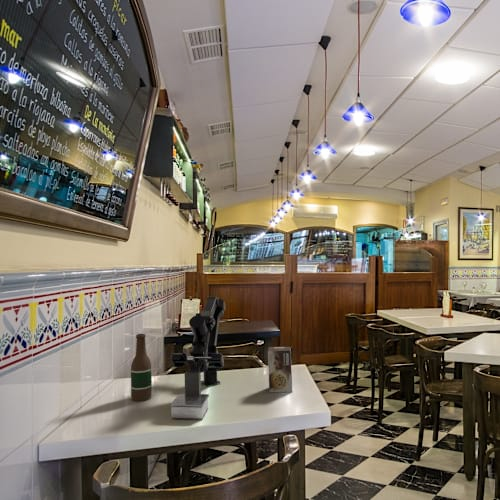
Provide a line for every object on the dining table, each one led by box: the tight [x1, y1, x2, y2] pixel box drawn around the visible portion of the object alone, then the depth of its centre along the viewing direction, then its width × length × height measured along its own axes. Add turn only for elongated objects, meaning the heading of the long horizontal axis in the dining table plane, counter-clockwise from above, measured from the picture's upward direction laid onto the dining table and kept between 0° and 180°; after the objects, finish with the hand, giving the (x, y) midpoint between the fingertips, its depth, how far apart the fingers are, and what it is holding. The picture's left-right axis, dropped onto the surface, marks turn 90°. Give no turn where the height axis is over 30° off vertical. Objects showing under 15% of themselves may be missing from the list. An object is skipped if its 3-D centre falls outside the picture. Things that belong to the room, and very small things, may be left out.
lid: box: [170, 370, 210, 407], centre depth 125 cm, size 10×11×9 cm
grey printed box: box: [267, 346, 293, 393], centre depth 146 cm, size 9×6×16 cm
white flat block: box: [170, 398, 209, 421], centre depth 124 cm, size 9×10×4 cm
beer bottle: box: [130, 333, 153, 403], centre depth 141 cm, size 8×8×24 cm
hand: (193, 382), depth 130 cm, fingers closed, pressing on lid
